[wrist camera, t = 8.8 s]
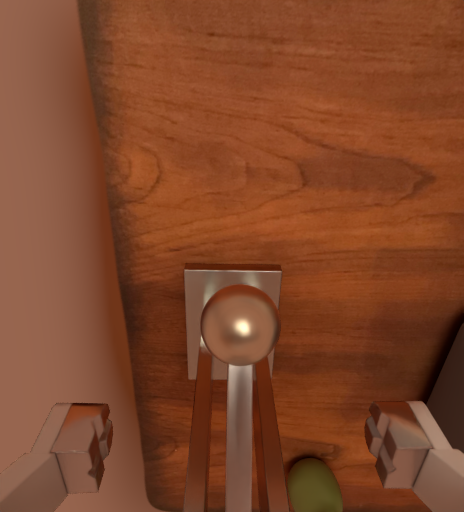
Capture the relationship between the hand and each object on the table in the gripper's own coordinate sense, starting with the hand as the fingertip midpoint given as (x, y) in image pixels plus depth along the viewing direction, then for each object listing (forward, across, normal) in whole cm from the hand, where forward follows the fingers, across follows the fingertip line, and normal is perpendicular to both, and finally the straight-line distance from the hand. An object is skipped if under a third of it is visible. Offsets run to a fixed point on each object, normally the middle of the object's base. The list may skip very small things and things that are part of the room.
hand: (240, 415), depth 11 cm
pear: (+19, -10, +31) cm, 38 cm away
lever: (+4, 0, +7) cm, 8 cm away
